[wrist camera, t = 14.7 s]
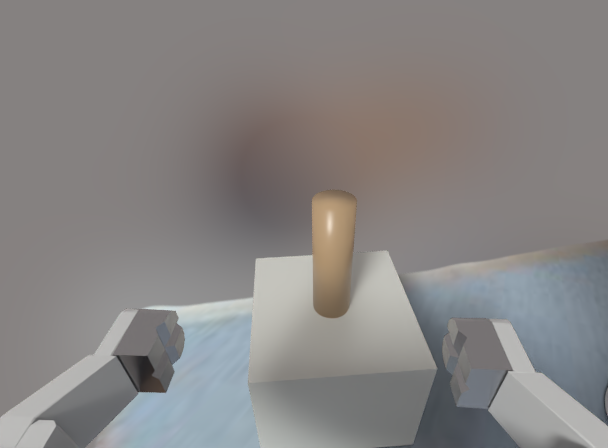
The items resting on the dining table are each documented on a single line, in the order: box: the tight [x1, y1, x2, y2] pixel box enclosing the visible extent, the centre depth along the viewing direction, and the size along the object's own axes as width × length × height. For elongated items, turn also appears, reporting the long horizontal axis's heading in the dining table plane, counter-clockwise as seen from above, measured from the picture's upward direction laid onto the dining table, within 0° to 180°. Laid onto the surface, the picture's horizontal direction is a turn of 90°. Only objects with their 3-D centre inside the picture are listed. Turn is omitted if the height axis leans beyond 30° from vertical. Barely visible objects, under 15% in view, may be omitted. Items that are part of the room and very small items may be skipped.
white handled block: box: [248, 190, 437, 448], centre depth 30 cm, size 13×13×21 cm
